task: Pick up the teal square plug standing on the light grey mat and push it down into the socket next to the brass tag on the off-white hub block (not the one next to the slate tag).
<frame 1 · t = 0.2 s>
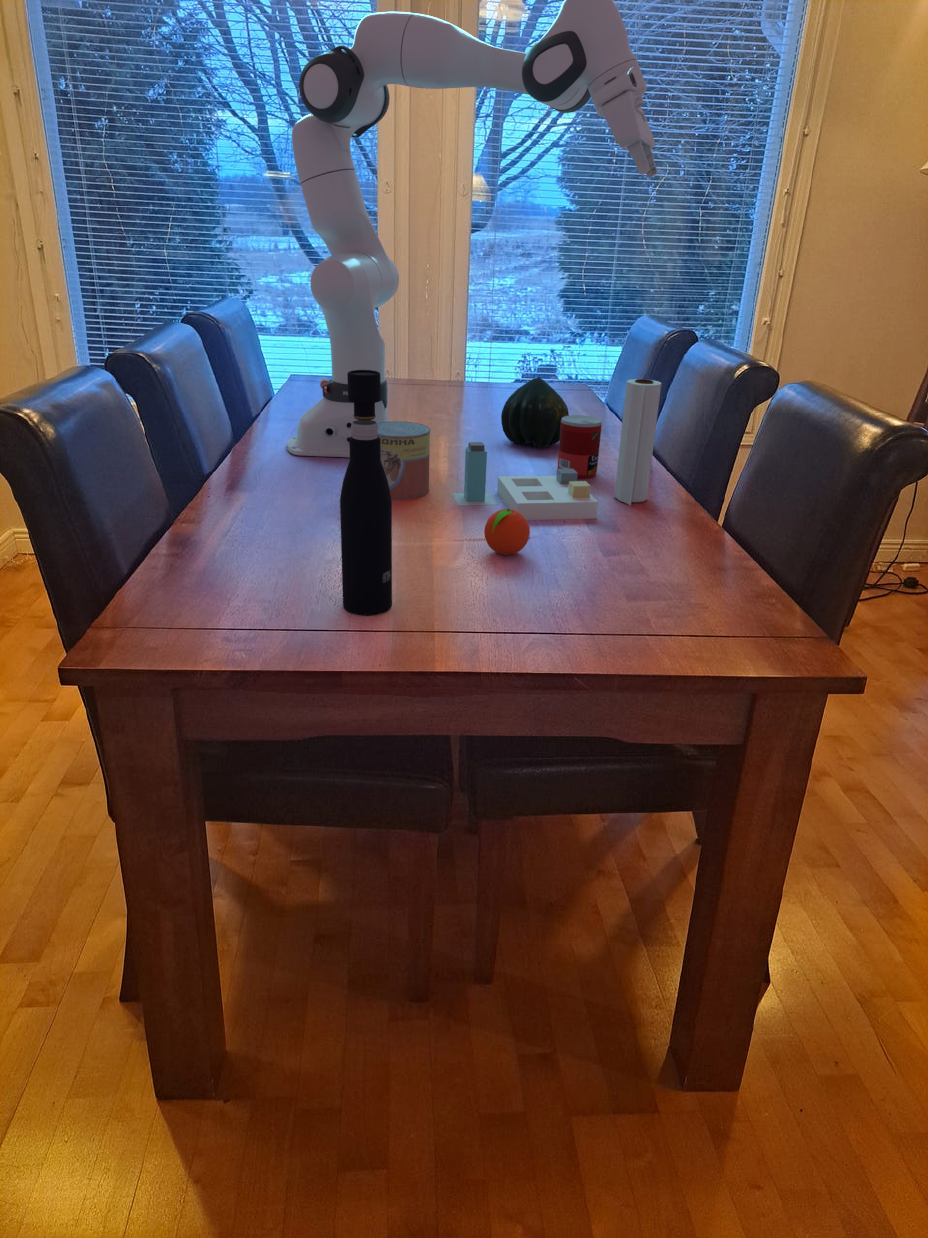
hand: (649, 174, 151), 54 cm above the table, tool tilted 30°, fingers open, 8 cm apart
clementine: (504, 555, 135), on the table
mat: (474, 502, 158), on the table
insulated water bottle: (367, 606, 116), on the table
canned food: (576, 474, 177), on the table
hub block: (544, 507, 156), on the table
squash: (532, 444, 199), on the table
canned food 2: (398, 494, 161), on the table
plug: (474, 498, 158), point 1 cm above the table, touching mat
paper towel roll: (628, 500, 163), on the table
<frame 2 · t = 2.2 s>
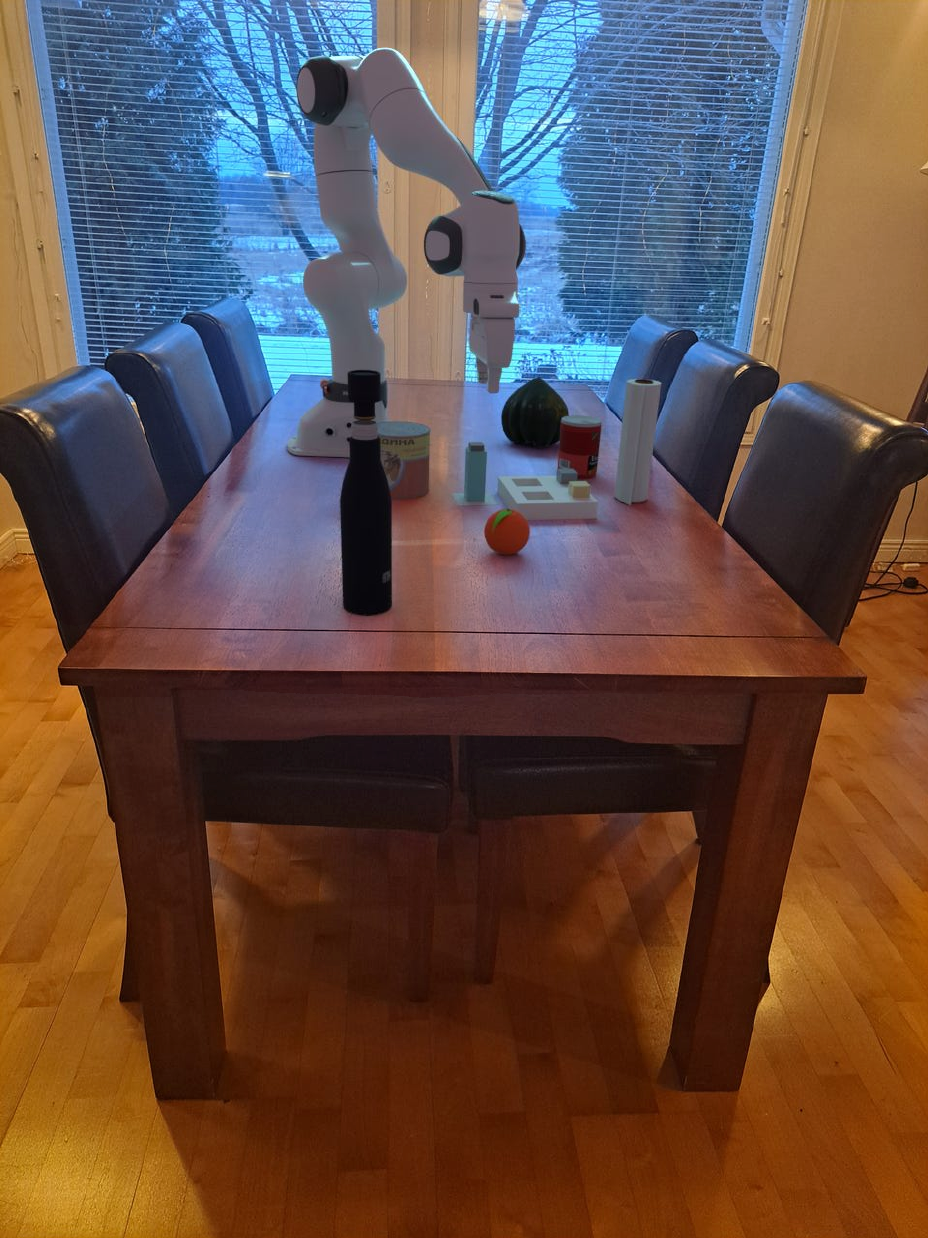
hand: (487, 387, 149), 20 cm above the table, tool pointing down, fingers open, 8 cm apart
nothing on the table moved.
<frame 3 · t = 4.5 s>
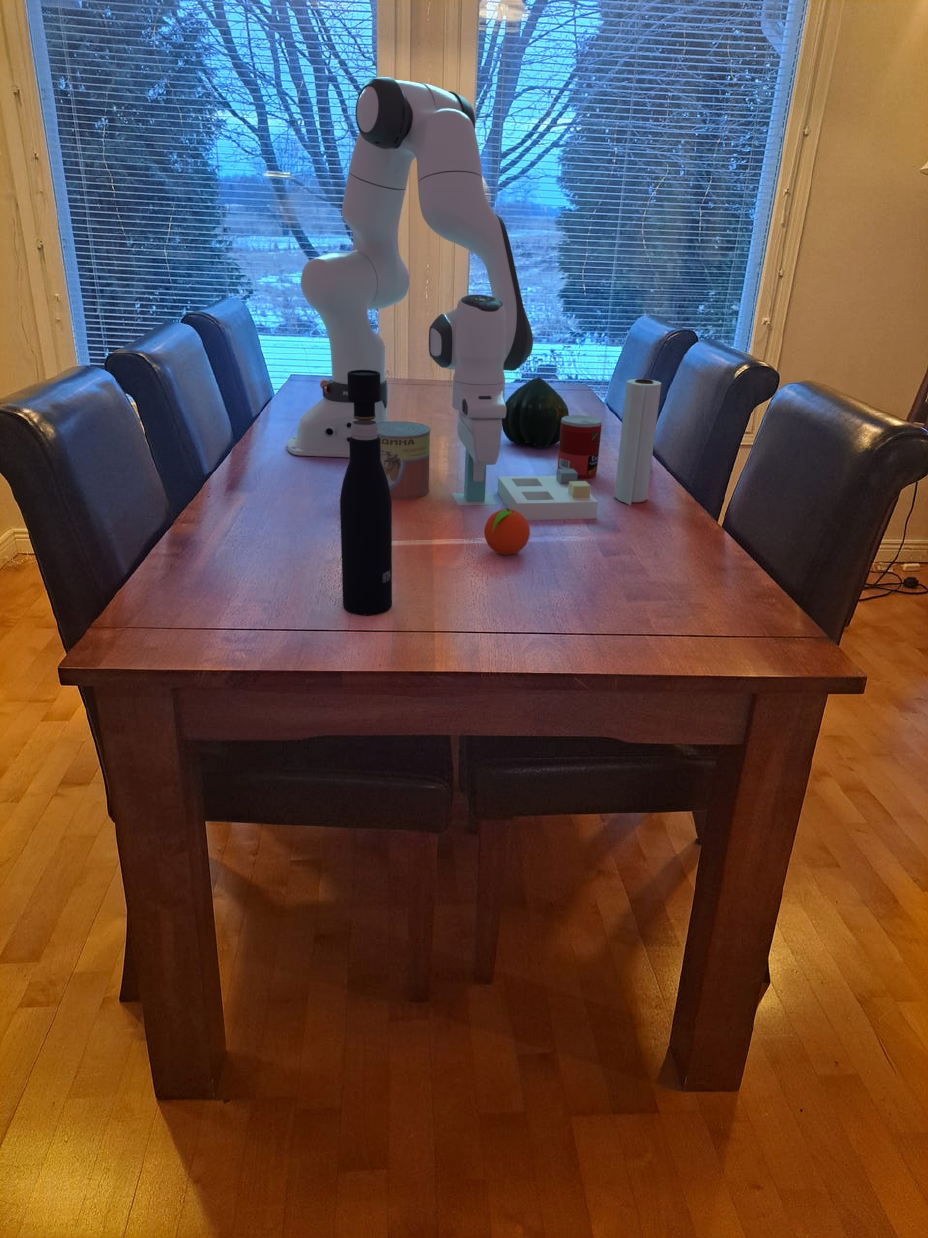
hand: (475, 476, 156), 5 cm above the table, tool pointing down, fingers closed on plug, 3 cm apart
plug: (474, 498, 158), point 1 cm above the table, touching gripper, mat
everything else where it was.
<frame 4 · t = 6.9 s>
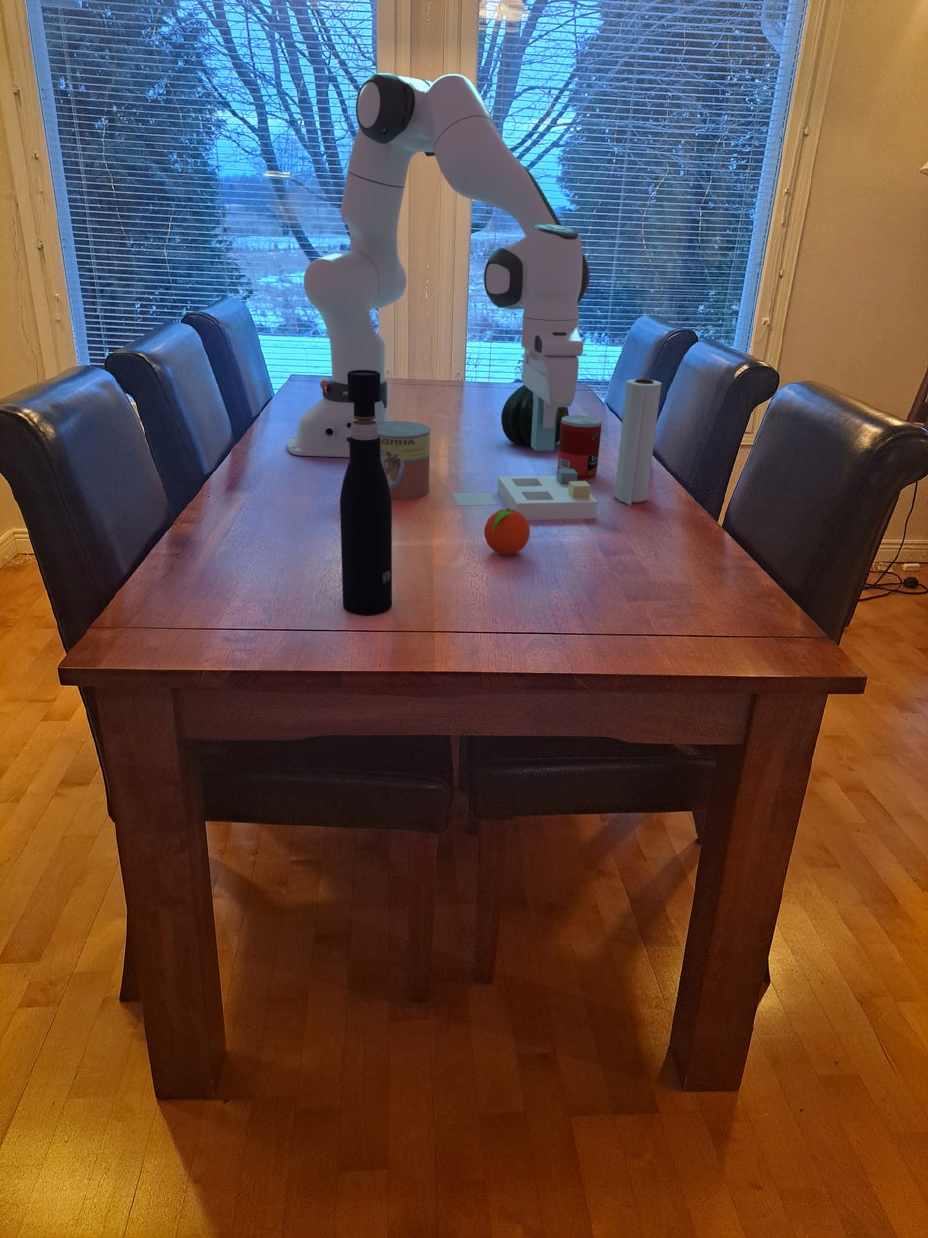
hand: (543, 423, 146), 16 cm above the table, tool pointing down, fingers closed on plug, 3 cm apart
plug: (542, 448, 147), point 12 cm above the table, touching gripper
everything else where it was.
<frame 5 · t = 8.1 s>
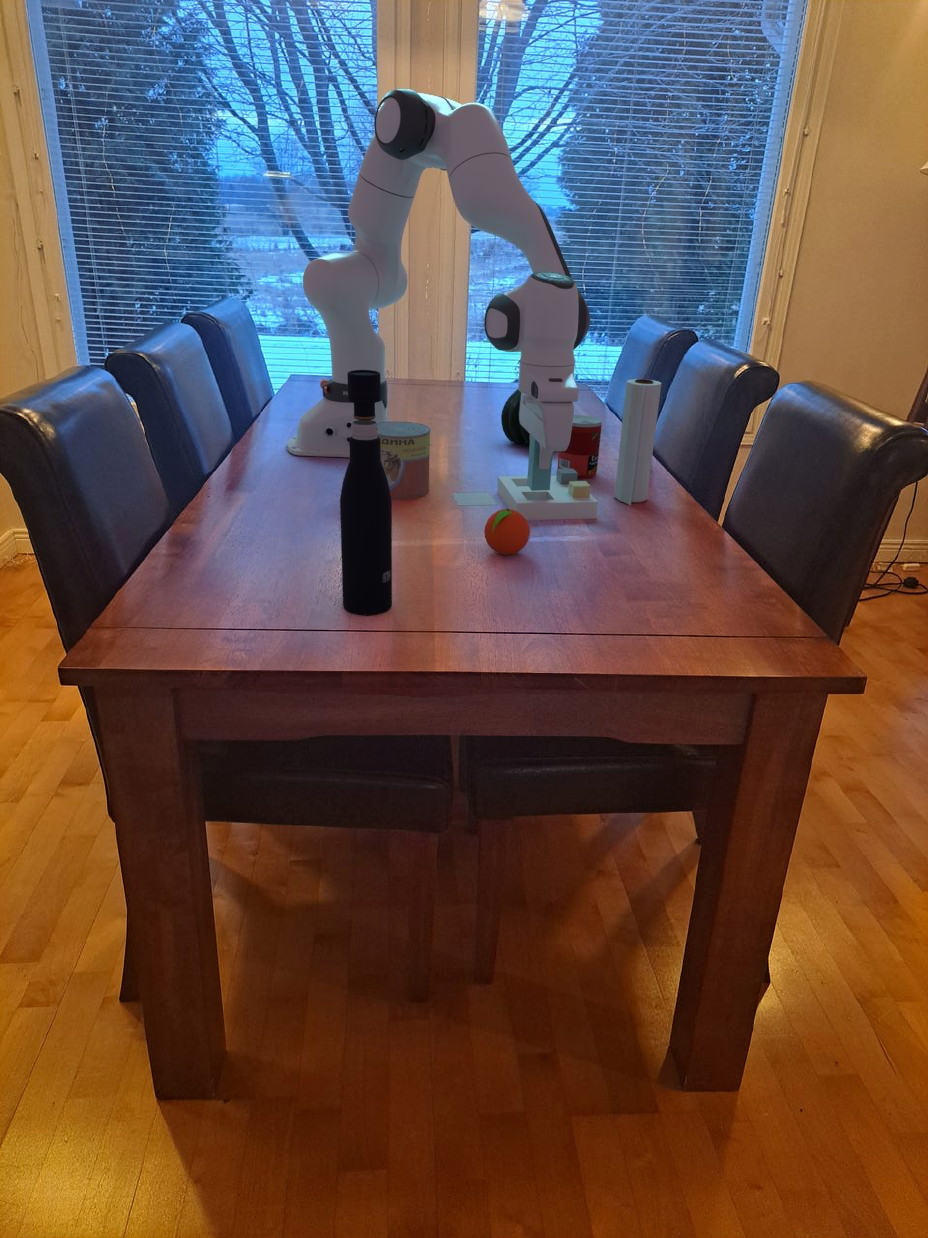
hand: (539, 464, 149), 9 cm above the table, tool pointing down, fingers closed on plug, 3 cm apart
plug: (538, 487, 150), point 5 cm above the table, touching gripper
everything else where it was.
when the fingers open (6 cm above the table, at t = 9.1 s): plug stays where it is, resting on hub block.
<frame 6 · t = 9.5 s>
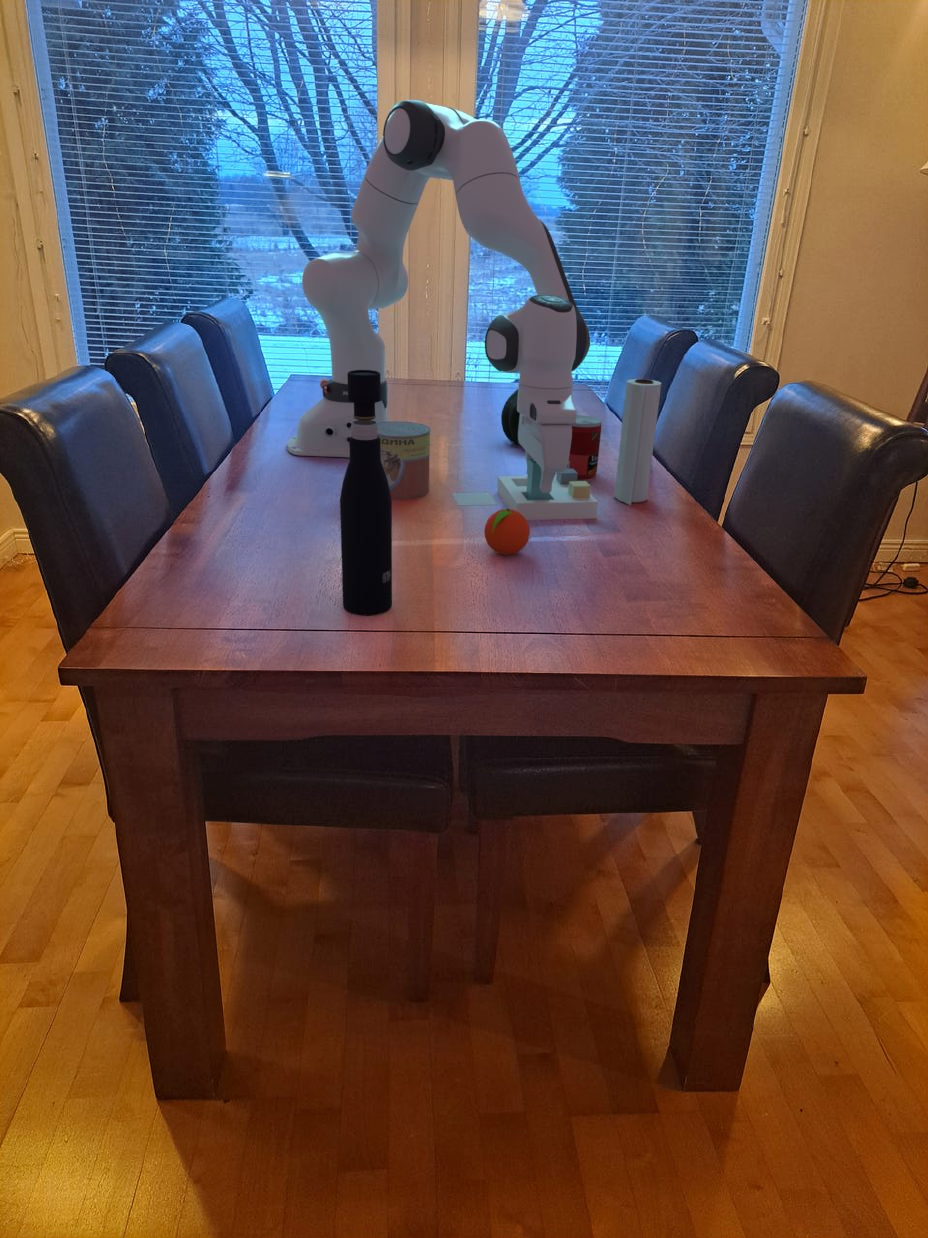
hand: (538, 483, 150), 6 cm above the table, tool pointing down, fingers open, 8 cm apart
plug: (536, 512, 152), resting on hub block
everything else where it was.
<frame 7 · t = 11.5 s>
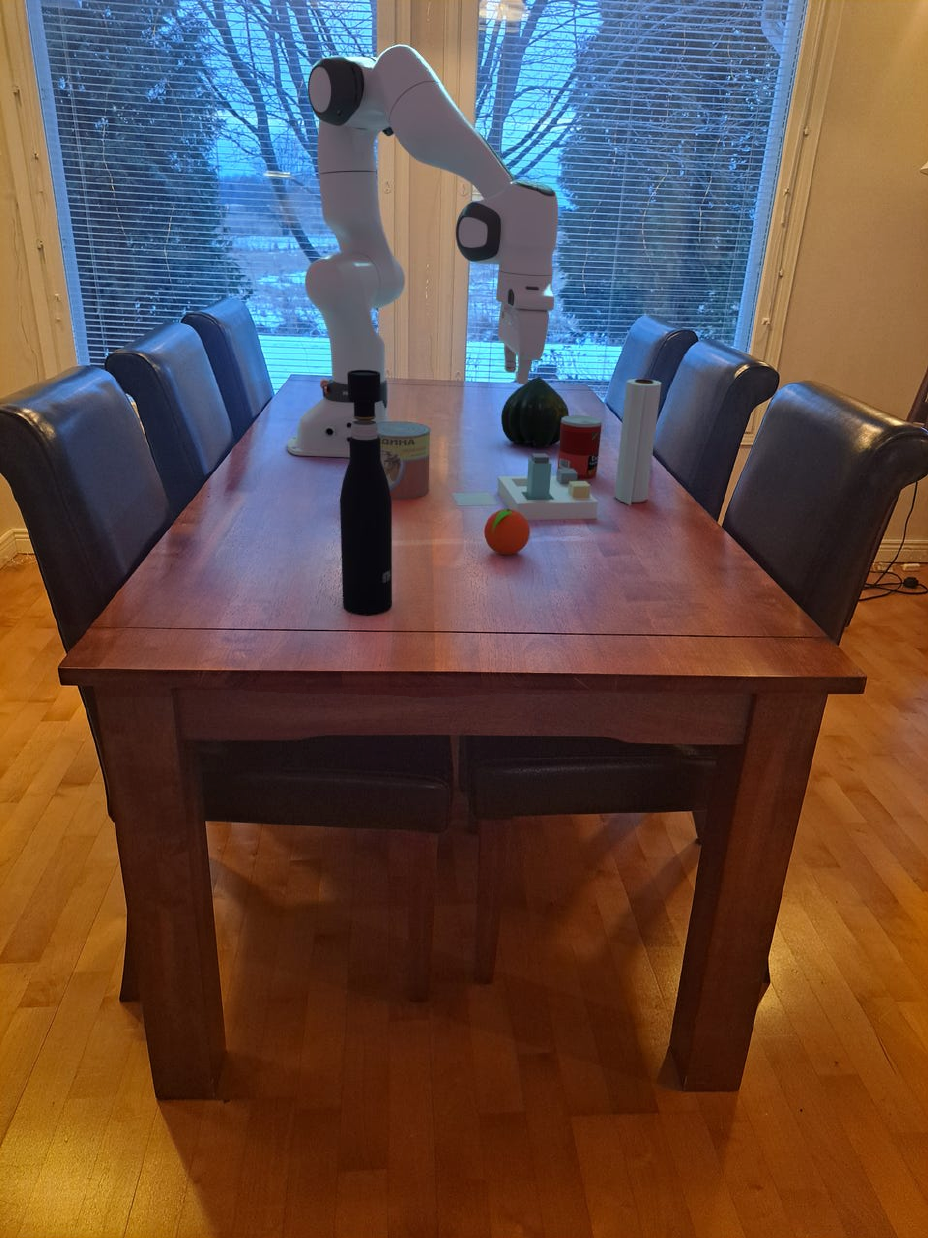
hand: (515, 377, 150), 22 cm above the table, tool pointing down, fingers open, 8 cm apart
nothing on the table moved.
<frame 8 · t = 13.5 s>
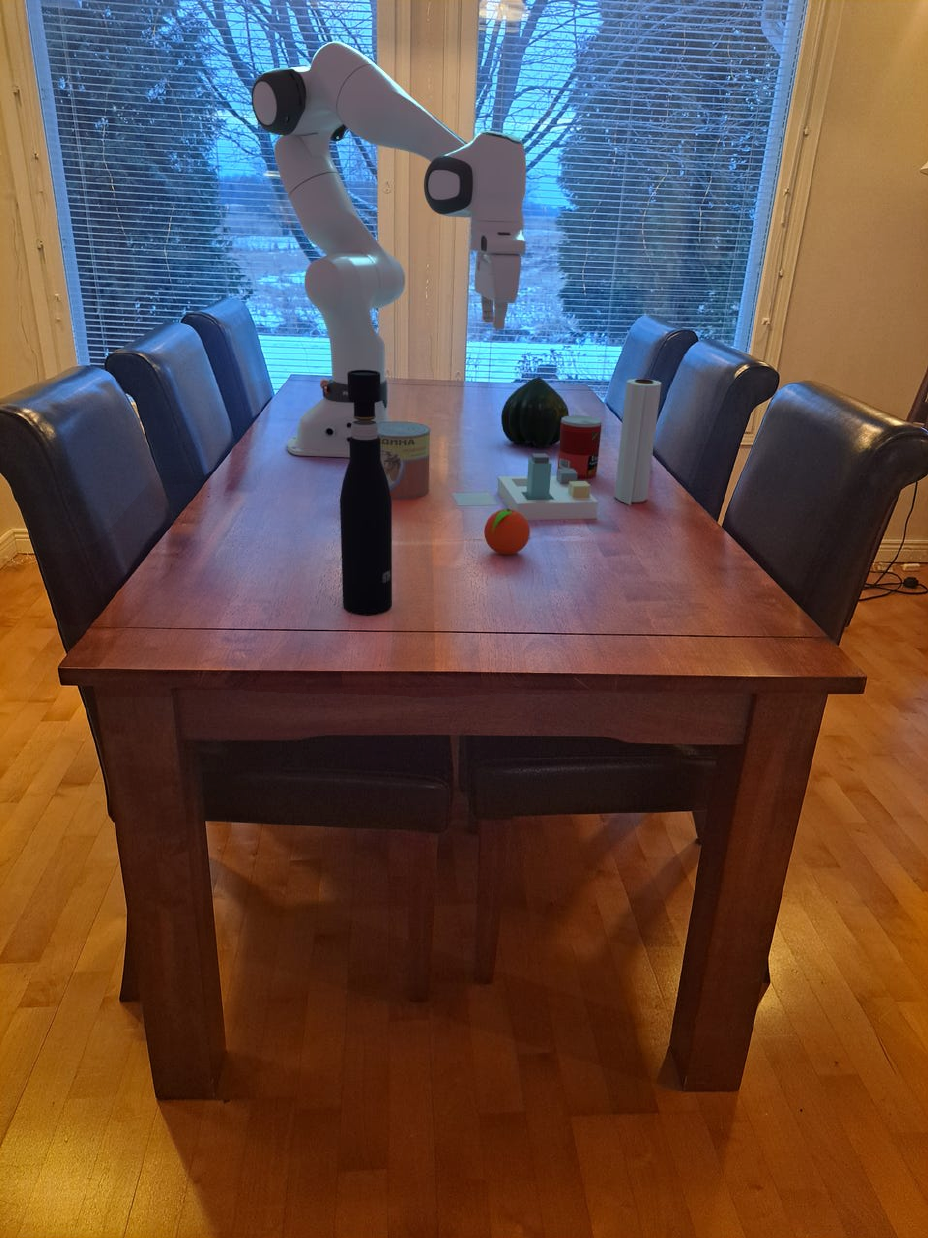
hand: (492, 325, 155), 29 cm above the table, tool pointing down, fingers open, 8 cm apart
nothing on the table moved.
at the end: plug 0.1 cm from the target spot on the hub block, point 0.5 cm above the hub block's base; plug tilted 0°; the gripper is holding nothing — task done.
